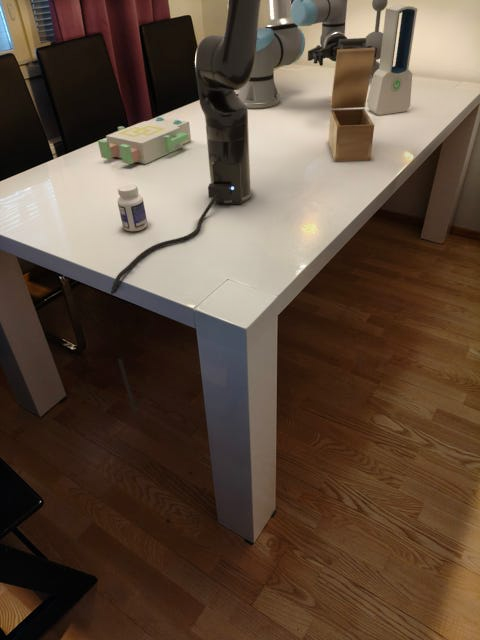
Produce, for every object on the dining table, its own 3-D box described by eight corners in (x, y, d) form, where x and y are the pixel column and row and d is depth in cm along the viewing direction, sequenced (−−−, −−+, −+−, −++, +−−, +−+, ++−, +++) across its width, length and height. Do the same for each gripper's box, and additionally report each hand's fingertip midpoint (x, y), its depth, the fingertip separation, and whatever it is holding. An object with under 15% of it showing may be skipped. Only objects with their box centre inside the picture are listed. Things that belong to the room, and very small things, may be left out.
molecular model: (328, 81, 202) (333, -6, 184) (375, 74, 207) (385, -11, 188) (355, 93, 184) (363, -1, 166) (406, 86, 189) (420, -7, 170)
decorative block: (150, 112, 153) (199, 120, 143) (154, 133, 157) (201, 142, 147) (87, 135, 137) (137, 147, 127) (92, 158, 141) (141, 171, 131)
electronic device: (375, 115, 160) (388, 8, 142) (365, 110, 166) (376, 6, 148) (409, 111, 163) (426, 4, 144) (398, 105, 168) (413, 2, 150)
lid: (375, 50, 122) (371, 31, 126) (337, 51, 122) (334, 33, 126) (364, 107, 136) (361, 88, 140) (330, 108, 136) (328, 90, 140)
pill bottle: (149, 220, 107) (142, 181, 102) (146, 231, 103) (138, 191, 98) (125, 221, 107) (116, 182, 102) (121, 232, 103) (112, 193, 98)
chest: (370, 160, 130) (374, 125, 124) (334, 161, 130) (337, 126, 125) (360, 141, 142) (364, 108, 136) (328, 142, 142) (330, 109, 137)
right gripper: (374, 57, 156) (388, 71, 140) (296, 61, 158) (301, 75, 141) (377, 30, 152) (392, 41, 135) (297, 34, 153) (302, 46, 136)
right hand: (345, 59), depth 138 cm, fingers open, 13 cm apart
